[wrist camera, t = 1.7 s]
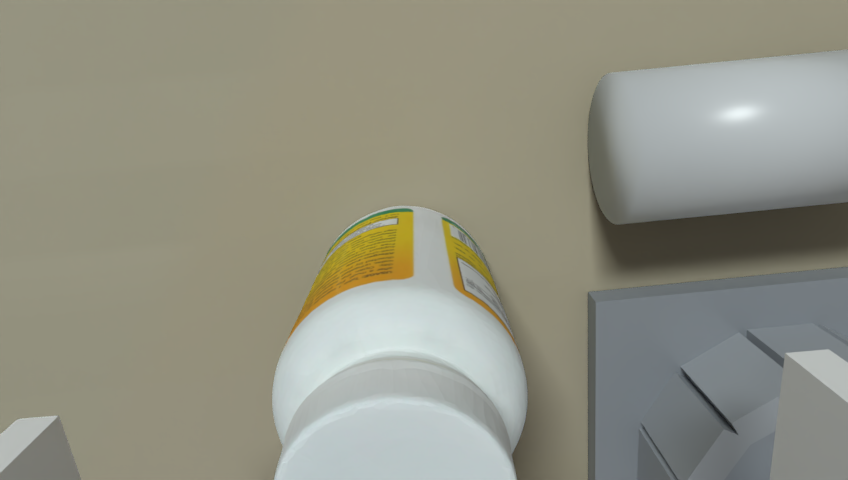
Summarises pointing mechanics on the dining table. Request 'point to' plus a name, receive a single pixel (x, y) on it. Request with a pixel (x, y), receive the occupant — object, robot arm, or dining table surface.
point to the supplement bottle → (400, 360)
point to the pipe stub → (720, 137)
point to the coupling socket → (701, 371)
